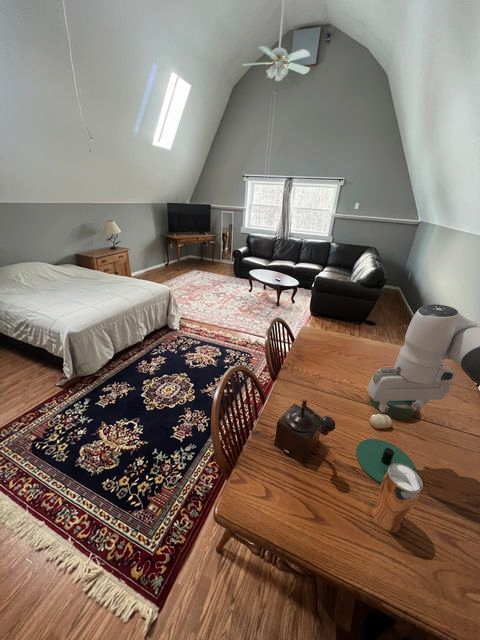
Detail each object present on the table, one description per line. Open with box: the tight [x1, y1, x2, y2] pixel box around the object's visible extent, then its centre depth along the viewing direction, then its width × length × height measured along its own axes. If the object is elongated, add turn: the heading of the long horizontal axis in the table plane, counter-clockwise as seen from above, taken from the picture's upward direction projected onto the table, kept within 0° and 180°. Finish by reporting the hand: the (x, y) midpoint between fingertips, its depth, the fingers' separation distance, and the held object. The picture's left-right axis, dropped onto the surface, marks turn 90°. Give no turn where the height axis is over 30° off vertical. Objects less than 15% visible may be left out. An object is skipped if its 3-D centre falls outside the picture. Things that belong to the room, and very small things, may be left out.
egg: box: [369, 413, 393, 429], centre depth 88 cm, size 7×4×4 cm, turn 94°
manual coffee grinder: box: [273, 399, 336, 464], centre depth 76 cm, size 16×11×18 cm
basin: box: [369, 396, 417, 421], centre depth 97 cm, size 15×15×6 cm
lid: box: [355, 438, 418, 485], centre depth 75 cm, size 16×16×5 cm
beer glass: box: [371, 463, 424, 533], centre depth 60 cm, size 7×7×15 cm
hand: (399, 409), depth 72 cm, fingers open, 8 cm apart
